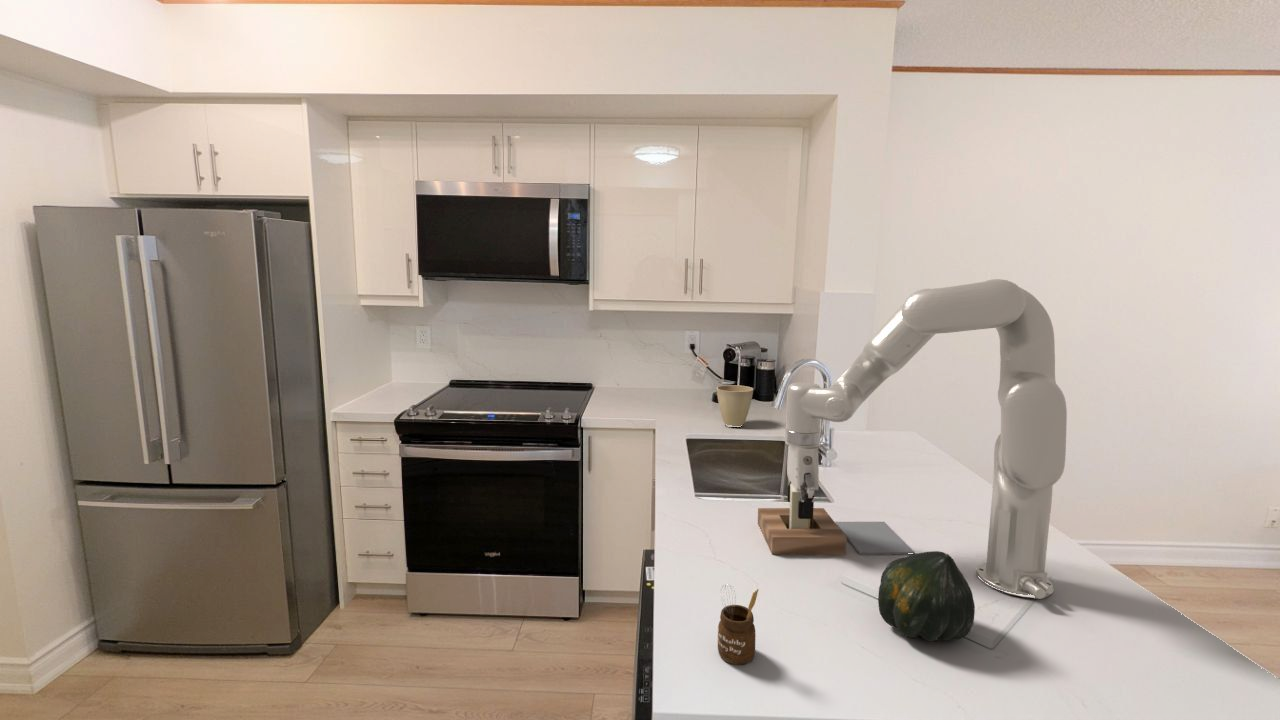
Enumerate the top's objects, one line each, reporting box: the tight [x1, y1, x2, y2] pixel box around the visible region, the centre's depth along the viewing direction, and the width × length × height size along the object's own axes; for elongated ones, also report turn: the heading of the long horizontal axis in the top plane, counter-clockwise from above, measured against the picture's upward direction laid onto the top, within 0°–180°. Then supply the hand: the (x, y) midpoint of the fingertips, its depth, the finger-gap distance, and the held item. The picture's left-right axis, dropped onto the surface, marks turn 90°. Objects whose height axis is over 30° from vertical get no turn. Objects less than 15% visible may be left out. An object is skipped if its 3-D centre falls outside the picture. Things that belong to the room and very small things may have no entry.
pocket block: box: [757, 507, 847, 556], centre depth 131 cm, size 16×16×4 cm
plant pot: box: [716, 384, 754, 426], centre depth 233 cm, size 15×15×16 cm
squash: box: [877, 550, 976, 642], centre depth 96 cm, size 14×15×15 cm
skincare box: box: [789, 483, 810, 529], centre depth 131 cm, size 6×4×12 cm
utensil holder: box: [717, 583, 759, 665], centre depth 90 cm, size 6×6×12 cm
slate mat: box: [834, 521, 916, 556], centre depth 132 cm, size 16×12×1 cm
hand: (799, 509), depth 131 cm, fingers open, 9 cm apart
